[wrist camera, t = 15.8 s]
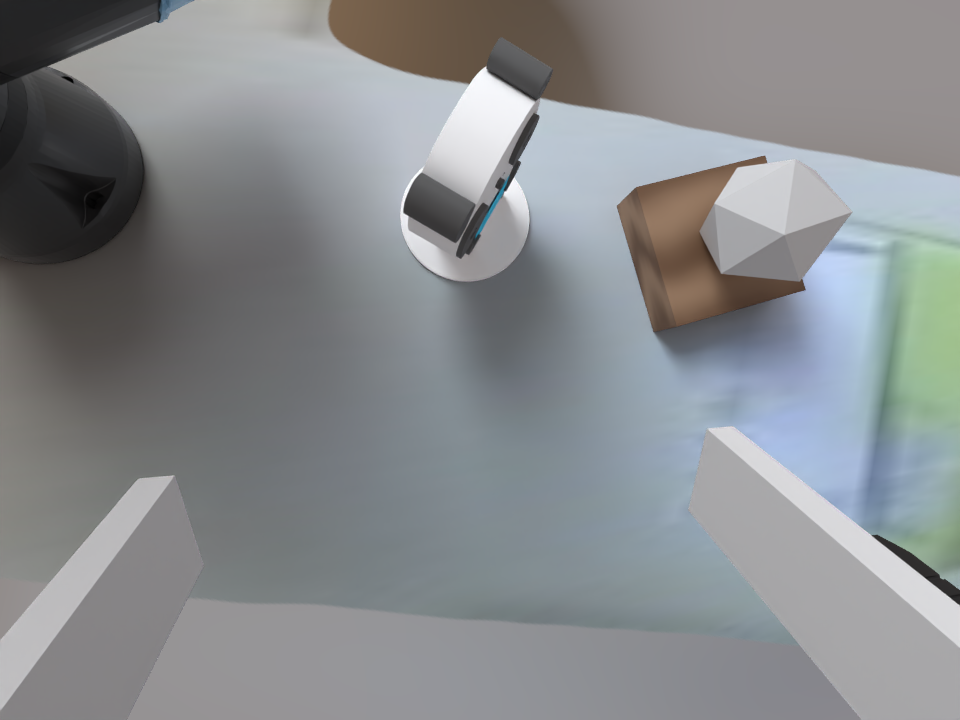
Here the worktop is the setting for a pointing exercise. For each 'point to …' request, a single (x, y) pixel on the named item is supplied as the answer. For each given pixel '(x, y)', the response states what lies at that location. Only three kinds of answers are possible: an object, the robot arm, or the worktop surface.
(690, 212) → the plinth
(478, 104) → the panda figurine
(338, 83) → the worktop surface
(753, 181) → the die
